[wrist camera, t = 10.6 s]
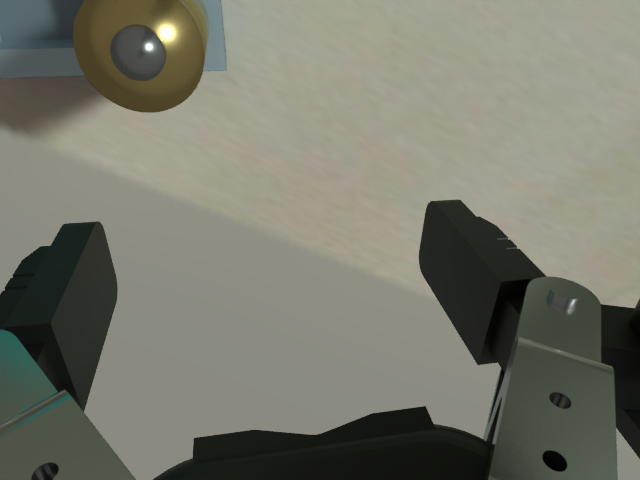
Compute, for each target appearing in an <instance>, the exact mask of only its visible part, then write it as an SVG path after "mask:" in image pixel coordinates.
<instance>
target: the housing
mask: <svg viewBox="0 0 640 480" xmlns="http://www.w3.org/2000/svg"><path fill="white" fill-rule="evenodd" d="M84 1H85V0H0V78H28V77H57V76H85V74H84V73H83V71H82V70H81V67H80V65H79V63H78V61H77V57H76V54H75V50H74V45H73V26H74V22H75V18H76V15H77V13H78V10H79V8H80V7H81V5H82V3H83V2H84ZM202 1H203V3H204V5H205V7H206V10H207V14H208V19H209V36H208V42H207V49H206V55H205V62H204V68H203V71H227V64H226V49H225V38H224V28H223V18H222V7H221V0H202Z"/></svg>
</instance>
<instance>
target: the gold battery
mask: <svg viewBox="0 0 640 480" xmlns="http://www.w3.org/2000/svg"><path fill="white" fill-rule="evenodd" d="M208 36H209V19H208V14H207V10H206V7H205V5H204V3H203V1H202V0H85V1H84V2H83V3H82V5H81V7H80V8H79V10H78V13H77V15H76V18H75V22H74V26H73V45H74V50H75V54H76V57H77V61H78V63H79V65H80V67H81V70H82V71H83V73H84V74H85V76H86V78H87V79H88V80H89V82H90V83H91V84H92V85H93V86H94V87H95V88H96V90H97V91H98V92H100V93H101V94H102V95H103V96H104V97H106V98H107V99H109V100H110V101H112V102H113V103H115V104H117V105H119V106H122V107H124V108H127V109H130V110H134V111H139V112H160V111H164V110H168V109H171V108H173V107H175V106H177V105H179V104H181V103H182V102H183V101H184V100H186V99H187V98H188V97H189V96H190V95H191V94H192V93H193V91H194V90H195V88H196V87H197V85H198V83H199V81H200V78H201V76H202V72H203V68H204V62H205V55H206V49H207V42H208Z"/></svg>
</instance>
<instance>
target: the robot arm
mask: <svg viewBox="0 0 640 480" xmlns="http://www.w3.org/2000/svg"><path fill="white" fill-rule="evenodd" d="M419 264H420V269H421V272H422V274H423V276H424V278H425V280H426V281H427V283H428V285H429V286H430V288H431V289H432V291H433V293H434V294H435V296H436V298H437V299H438V301H439V302H440V304H441V306H442V307H443V309H444V311H445V312H446V314H447V315H448V317H449V319H450V320H451V322H452V324H453V325H454V327H455V328H456V330H457V332H458V333H459V335H460V337H461V338H462V340H463V341H464V343H465V345H466V346H467V348H468V350H469V351H470V353H471V354H472V356H473V358H474V360H475V361H476V363H477V364H478V365H480V364H489V363H497V362H498V363H499V365H500V366H501V370H500V373H499V376H498V380H497V384H496V388H495V392H494V396H493V400H492V404H491V408H490V413H489V417H488V421H487V425H486V429H485V433H484V437H483V439H481V438H479V437H477V436H475V435H472V434H470V433H468V432H465V431H462V430H459V429H455V428H452V427H447V426H442V425H436V424H433V422H432V420H431V418H430V415H429V413H428V411H427V409H426V407H425V406H424V407H417V408H409V409H402V410H395V411H388V412H380V413H373V414H370V415H367V416H365V417H362V418H360V419H357V420H355V421H352V422H350V423H347V424H345V425H342V426H340V427H337V428H335V429H332V430H330V431H327V432H325V433H322V434H318V435H305V434H295V433H283V432H273V431H261V430H250V431H243V432H235V433H228V434H221V435H213V436H207V437H199V438H194V446H193V458H192V459H189V460H187V461H184V462H182V463H180V464H178V465H176V466H174V467H172V468H170V469H168V470H167V471H165V472H164V473H162V474H161V475H159V476H157V477H156V478H154V479H153V480H618V475H617V445H616V428H617V429H618V430H619V432H620V433H621V434H622V436H623V437H624V438H625V440H626V441H627V442H628V444H629V445H630V446H631V447H632V449H633V450H634V452H635V453H636V454H637V456H638V457H639V458H640V299H639V301H638V303H637V305H636V307H635V308H627V307H618V306H610V305H602V304H600V302H599V300H598V298H597V297H596V296H595V295H594V294H593V293H592V292H591V291H590V290H588V289H587V288H585V287H584V286H582V285H580V284H578V283H575V282H573V281H570V280H567V279H563V278H558V277H546V276H545V275H544V274H543V272H542V271H541V270H540V269H539V268H538V267H537V266H536V265H535V264H534V263H533V262H532V261H531V260H530V259H529V258H528V257H527V256H526V255H525V254H524V253H523V252H522V251H521V250H520V249H517V246H516V245H515V244H514V243H513V242H512V241H511V240H508V237H507V236H506V235H505V234H504V233H503V232H502V231H501V230H500V229H499V228H498V227H497V226H496V225H494V224H492V223H490V222H488V221H487V220H485V219H483V218H481V217H476V216H475V215H474V214H473V213H472V212H471V211H470V210H469V209H468V208H467V206H466V205H465V204H464V203H463V202H462V201H461V200H443V201H431V202H430V203H429V204H428V206H427V208H426V213H425V219H424V225H423V232H422V238H421V244H420V250H419ZM116 301H117V280H116V274H115V271H114V267H113V263H112V259H111V255H110V251H109V247H108V243H107V239H106V235H105V232H104V228H103V226H102V224H101V223H100V222H85V223H69V224H64V225H63V226H62V227H61V229H60V230H59V232H58V234H57V236H56V237H55V239H54V241H53V243H52V245H51V246H42V247H39V248H38V249H37V250H35V251H34V252H33V253H31V254H30V255H29V256H27V257H26V258H25V259H23V260H22V261H21V263H20V265H19V266H18V268H17V269H16V271H15V273H14V274H13V278H11V279H10V280H9V282H8V283H7V285H6V287H5V291H3V292H2V293H1V295H0V480H136V479H135V478H134V476H133V475H132V474H131V473H130V471H129V470H128V469H127V467H126V466H125V465H124V464H123V462H122V461H121V460H120V458H119V457H118V456H117V454H116V453H115V452H114V451H113V449H112V448H111V447H110V445H109V444H108V443H107V442H106V440H105V439H104V438H103V437H102V435H101V434H100V433H99V431H98V430H97V429H96V428H95V426H94V425H93V424H92V422H91V421H90V420H89V418H88V417H87V416H86V415H85V413H84V409H85V406H86V403H87V399H88V396H89V393H90V388H91V385H92V382H93V379H94V376H95V372H96V369H97V366H98V362H99V359H100V355H101V352H102V349H103V345H104V342H105V338H106V335H107V332H108V328H109V325H110V322H111V318H112V314H113V311H114V308H115V305H116Z"/></svg>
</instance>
